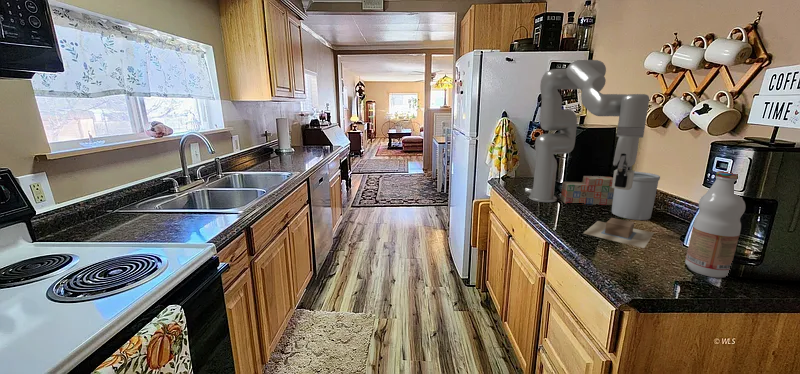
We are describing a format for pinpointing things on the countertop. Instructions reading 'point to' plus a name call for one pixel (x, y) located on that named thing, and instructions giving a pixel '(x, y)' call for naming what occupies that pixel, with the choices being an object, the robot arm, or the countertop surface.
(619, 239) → the board
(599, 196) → the stack of blocks
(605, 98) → the robot arm
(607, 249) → the countertop surface
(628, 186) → the cream block
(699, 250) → the fruit juice
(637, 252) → the countertop surface
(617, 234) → the walnut foundation
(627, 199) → the utensil holder
